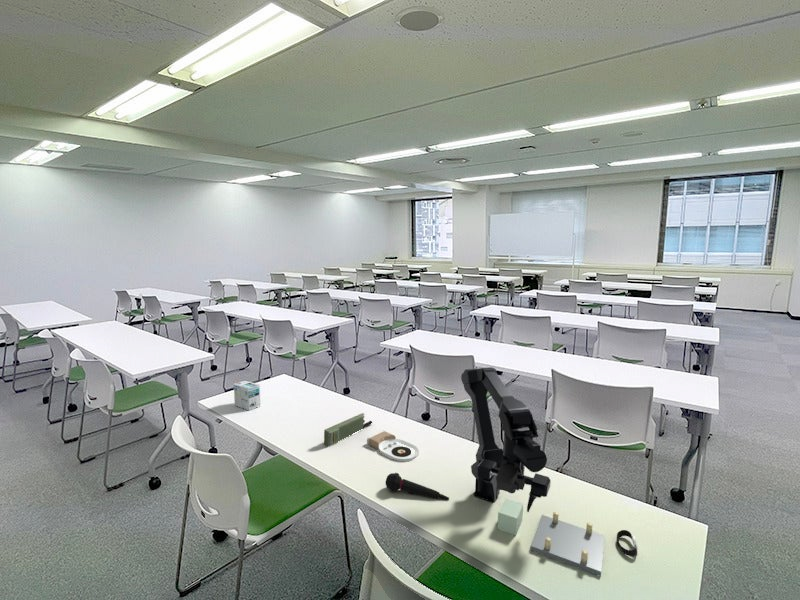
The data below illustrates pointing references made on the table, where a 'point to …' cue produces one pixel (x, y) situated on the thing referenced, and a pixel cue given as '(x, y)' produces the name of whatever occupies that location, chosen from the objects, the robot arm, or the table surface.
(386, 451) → the record player
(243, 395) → the light bulb box
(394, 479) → the microphone
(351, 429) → the handheld radio
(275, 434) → the table surface
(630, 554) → the watch
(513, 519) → the board block
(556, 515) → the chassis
